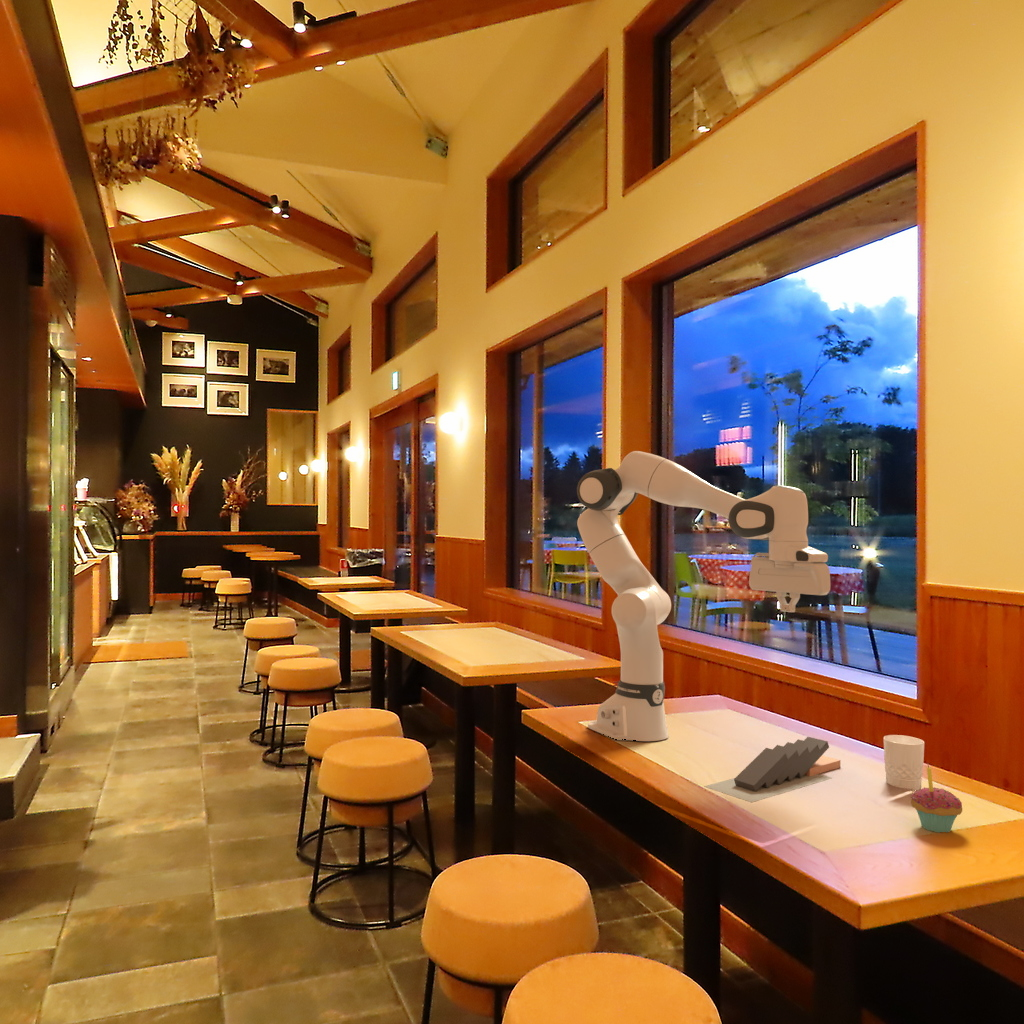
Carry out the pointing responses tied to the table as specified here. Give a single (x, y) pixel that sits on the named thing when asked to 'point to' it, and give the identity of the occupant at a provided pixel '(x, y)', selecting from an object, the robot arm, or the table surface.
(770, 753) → the domino
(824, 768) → the domino
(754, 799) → the felt strip
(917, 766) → the white cup
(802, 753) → the domino
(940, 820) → the cupcake
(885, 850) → the table surface
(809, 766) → the domino
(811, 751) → the domino
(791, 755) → the domino
